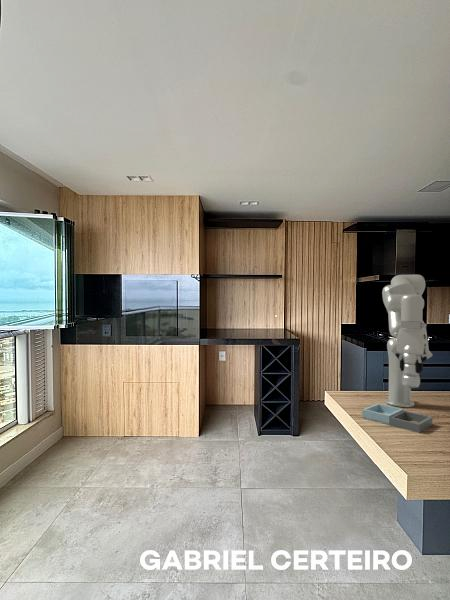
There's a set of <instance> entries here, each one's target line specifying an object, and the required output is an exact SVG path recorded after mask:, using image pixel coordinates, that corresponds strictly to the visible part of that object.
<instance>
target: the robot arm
mask: <svg viewBox="0 0 450 600" xmlns="http://www.w3.org/2000/svg"><path fill="white" fill-rule="evenodd" d="M425 289H426V281H425V277H424V276H423V275H421V274H397V275H395V276H394V277H392V279H391V280H390V284H387V285H385V286H384V287H383V288H382V292H381V294H382V301H383V304H384V307H385V308H386V309H385V310H386V312H387V314H388V331H389V334H390V336H392V337H391V338H389V339H388V341H387V342H386V343H387V344H386V349H387V354H388V356H387V357H388V398H385V400H384V402H385V403H386V405H387V404H388V406H392V407H397V408H412V407H415V402H414V401H412V396H413V395H412V388H409V387H406V386H404V385H403V384H402V376H403V369H404V361H403V349H404V348H405V347H406V346H411V347H413V348H414V349H415V350H416V355H418V356H417V359H418V363H417V373H419V374H421V373H423V370H424V363H425V362H426V361H427V360H428V359H430V358H431V357H433V353H432V351H430V349H429V340H428V334H427V333H428V331H427V323H425V322H424V320H423V316H424V315H423V309H424V307H425V300H424V299H425V298H423V296H422V295H423V293H424V291H425Z"/></svg>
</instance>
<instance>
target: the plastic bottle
mask: <svg viewBox="0 0 450 600" xmlns="http://www.w3.org/2000/svg"><path fill="white" fill-rule="evenodd" d="M417 356H418V355H416V350H415V349H414V348H413V347H411V346H406V347H405V348H404V349H403V361H404V369H403V376H402V384H403V385H404V386H406V387H409V388H411V389H416V388H419V387H420V385H421V378H420V373H417V363H418V359H417Z"/></svg>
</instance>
